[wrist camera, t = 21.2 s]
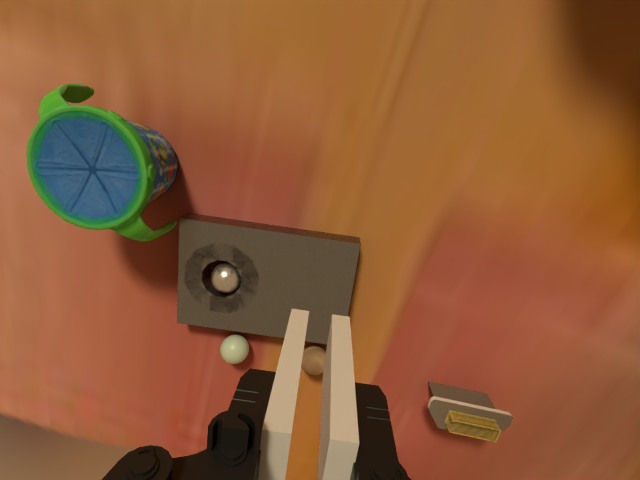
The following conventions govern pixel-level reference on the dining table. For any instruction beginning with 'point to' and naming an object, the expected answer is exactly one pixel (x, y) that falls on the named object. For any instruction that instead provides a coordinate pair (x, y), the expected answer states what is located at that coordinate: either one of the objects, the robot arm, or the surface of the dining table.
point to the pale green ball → (234, 349)
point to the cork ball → (313, 360)
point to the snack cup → (98, 165)
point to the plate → (264, 276)
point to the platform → (466, 412)
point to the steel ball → (225, 278)
